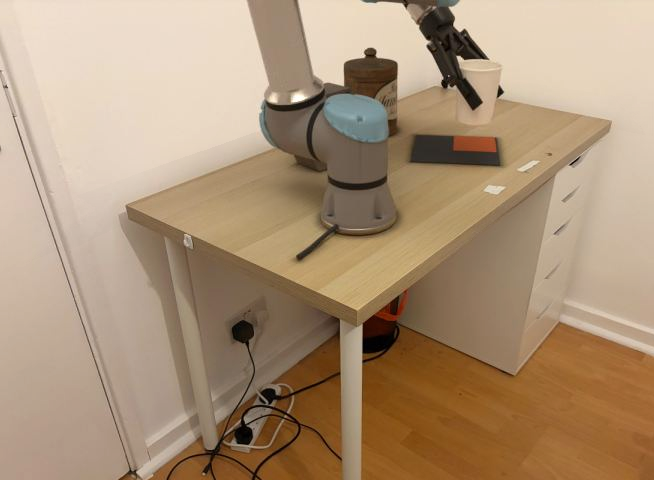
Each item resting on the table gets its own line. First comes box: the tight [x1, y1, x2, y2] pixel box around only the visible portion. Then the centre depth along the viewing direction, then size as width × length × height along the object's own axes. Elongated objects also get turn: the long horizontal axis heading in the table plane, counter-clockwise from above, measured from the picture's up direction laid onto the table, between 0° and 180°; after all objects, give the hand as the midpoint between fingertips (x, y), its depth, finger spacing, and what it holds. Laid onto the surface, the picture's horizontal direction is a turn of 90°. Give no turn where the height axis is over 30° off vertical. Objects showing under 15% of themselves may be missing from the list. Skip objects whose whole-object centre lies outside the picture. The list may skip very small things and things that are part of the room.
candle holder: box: [455, 59, 504, 127], centre depth 124 cm, size 10×10×12 cm
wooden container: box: [343, 47, 399, 137], centre depth 154 cm, size 15×15×22 cm
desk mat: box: [409, 134, 501, 167], centre depth 146 cm, size 20×22×1 cm
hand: (488, 101), depth 123 cm, fingers closed on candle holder, 9 cm apart
